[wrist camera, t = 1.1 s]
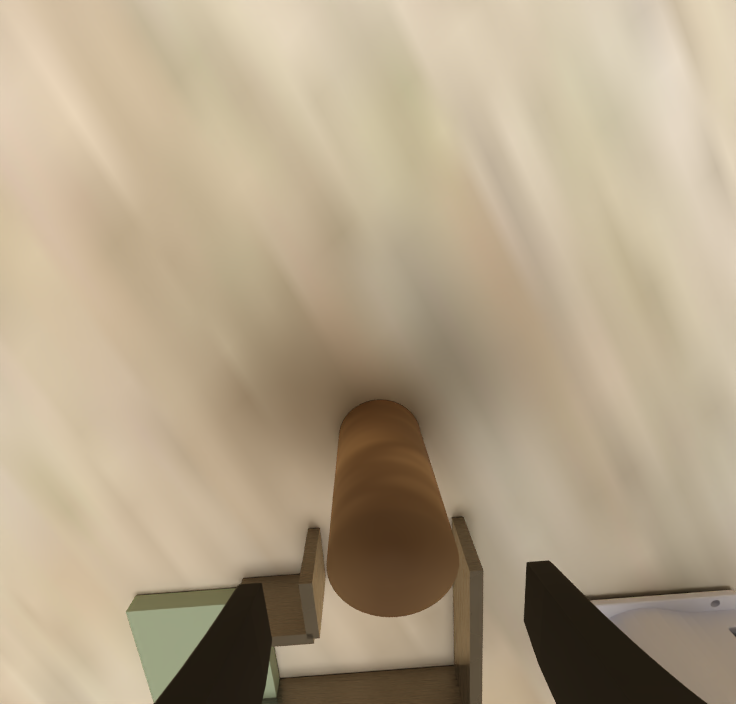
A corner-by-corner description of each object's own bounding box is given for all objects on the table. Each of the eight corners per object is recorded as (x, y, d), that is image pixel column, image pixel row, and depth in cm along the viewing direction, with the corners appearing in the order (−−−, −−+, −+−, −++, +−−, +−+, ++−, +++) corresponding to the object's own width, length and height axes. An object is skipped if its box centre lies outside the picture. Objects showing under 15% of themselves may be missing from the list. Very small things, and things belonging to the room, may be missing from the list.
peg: (418, 396, 19) (458, 503, 12) (421, 469, 20) (460, 611, 13) (335, 402, 19) (319, 514, 12) (342, 475, 20) (333, 621, 13)
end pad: (262, 585, 22) (258, 601, 21) (279, 678, 24) (276, 697, 23) (135, 595, 22) (125, 611, 21) (163, 687, 24) (154, 706, 23)
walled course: (463, 516, 21) (483, 570, 18) (464, 672, 24) (481, 742, 21) (234, 534, 21) (210, 591, 18) (264, 687, 24) (249, 760, 21)
